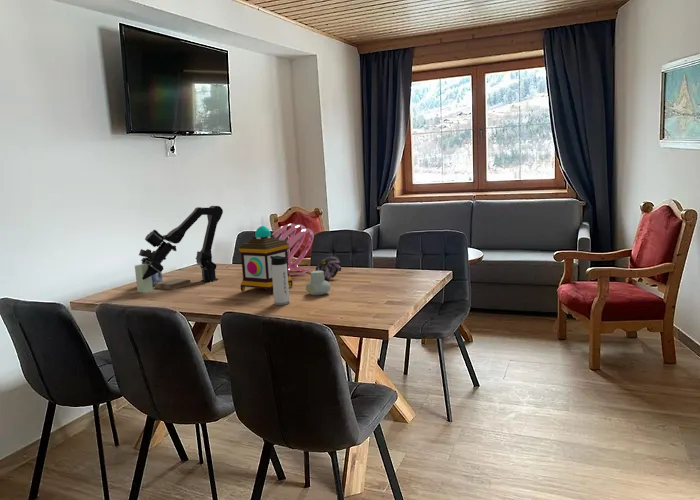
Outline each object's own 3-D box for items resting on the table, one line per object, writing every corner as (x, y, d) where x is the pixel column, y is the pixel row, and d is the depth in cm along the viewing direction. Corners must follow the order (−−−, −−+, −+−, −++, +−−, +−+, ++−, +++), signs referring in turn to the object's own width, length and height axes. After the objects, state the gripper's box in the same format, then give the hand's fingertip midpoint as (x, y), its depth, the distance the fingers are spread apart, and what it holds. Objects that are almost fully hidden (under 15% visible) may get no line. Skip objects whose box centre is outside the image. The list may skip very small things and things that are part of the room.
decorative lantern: (269, 296, 247) (264, 228, 242) (236, 292, 257) (231, 228, 253) (297, 286, 263) (292, 223, 259) (264, 284, 274) (260, 223, 270)
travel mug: (273, 302, 234) (270, 255, 231) (289, 301, 234) (286, 254, 231) (273, 305, 228) (269, 257, 225) (289, 304, 228) (285, 256, 225)
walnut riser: (190, 284, 282) (190, 279, 282) (172, 289, 272) (171, 284, 271) (174, 283, 288) (173, 278, 288) (155, 288, 278) (155, 283, 278)
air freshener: (304, 293, 247) (302, 271, 246) (319, 290, 252) (318, 268, 251) (317, 297, 239) (316, 274, 237) (333, 294, 243) (332, 271, 242)
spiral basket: (336, 234, 294) (296, 206, 301) (306, 255, 273) (264, 225, 279) (320, 272, 311) (282, 245, 317) (290, 295, 289) (251, 265, 296)
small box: (152, 287, 280) (150, 267, 279) (140, 287, 282) (138, 267, 280) (163, 283, 290) (161, 263, 289) (152, 283, 292) (150, 263, 290)
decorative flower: (305, 259, 281) (332, 248, 285) (311, 278, 287) (336, 267, 291) (317, 271, 269) (344, 259, 274) (322, 290, 275) (349, 278, 279)
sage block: (152, 290, 272) (150, 264, 271) (144, 292, 268) (141, 266, 266) (146, 289, 275) (143, 263, 273) (137, 292, 271) (134, 265, 269)
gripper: (143, 241, 278) (122, 266, 273) (154, 244, 263) (132, 270, 258) (160, 254, 284) (140, 279, 279) (172, 258, 268) (151, 284, 264)
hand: (140, 278), depth 270 cm, fingers closed on sage block, 6 cm apart
